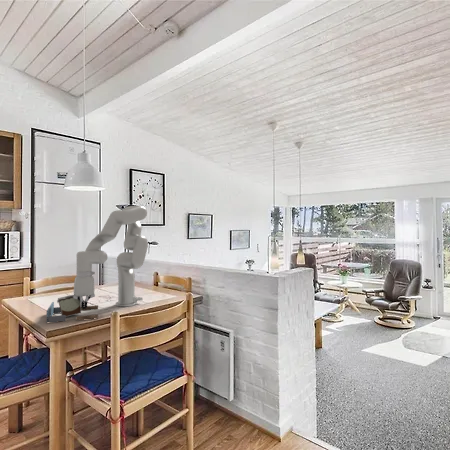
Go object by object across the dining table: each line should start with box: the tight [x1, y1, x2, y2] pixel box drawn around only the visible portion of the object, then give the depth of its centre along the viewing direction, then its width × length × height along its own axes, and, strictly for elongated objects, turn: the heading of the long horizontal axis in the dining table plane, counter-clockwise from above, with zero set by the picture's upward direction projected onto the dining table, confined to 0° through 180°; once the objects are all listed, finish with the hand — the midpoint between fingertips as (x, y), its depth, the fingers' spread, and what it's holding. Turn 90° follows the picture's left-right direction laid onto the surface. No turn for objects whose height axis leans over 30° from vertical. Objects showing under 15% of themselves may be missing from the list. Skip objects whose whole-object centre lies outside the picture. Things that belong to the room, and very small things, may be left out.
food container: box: [56, 294, 82, 317], centre depth 171 cm, size 12×6×10 cm, turn 139°
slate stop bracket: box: [46, 301, 67, 323], centre depth 169 cm, size 8×20×6 cm, turn 21°
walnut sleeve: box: [75, 304, 99, 321], centre depth 174 cm, size 10×22×2 cm, turn 21°
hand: (84, 308), depth 173 cm, fingers closed
